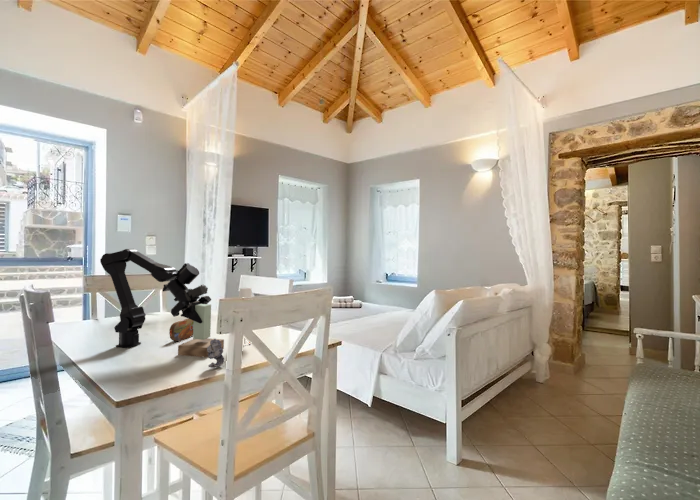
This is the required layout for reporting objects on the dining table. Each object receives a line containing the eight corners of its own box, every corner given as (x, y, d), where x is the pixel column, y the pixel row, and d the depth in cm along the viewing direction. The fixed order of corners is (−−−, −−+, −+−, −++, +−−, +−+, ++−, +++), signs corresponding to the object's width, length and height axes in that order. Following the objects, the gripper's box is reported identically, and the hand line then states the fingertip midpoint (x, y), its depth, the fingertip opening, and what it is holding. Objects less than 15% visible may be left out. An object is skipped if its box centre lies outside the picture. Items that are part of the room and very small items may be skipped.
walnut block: (177, 355, 131) (178, 345, 131) (197, 347, 143) (197, 337, 143) (206, 358, 129) (206, 347, 129) (223, 349, 141) (223, 339, 141)
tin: (174, 343, 146) (174, 323, 146) (167, 342, 147) (168, 323, 147) (196, 334, 161) (197, 316, 161) (190, 334, 161) (191, 316, 161)
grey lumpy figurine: (213, 371, 115) (214, 341, 115) (203, 367, 118) (204, 338, 118) (227, 366, 119) (227, 337, 119) (217, 363, 122) (217, 335, 122)
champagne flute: (246, 346, 143) (247, 289, 143) (232, 344, 146) (233, 288, 145) (255, 342, 150) (256, 287, 150) (242, 341, 152) (243, 286, 152)
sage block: (193, 338, 134) (194, 305, 134) (200, 336, 138) (200, 303, 138) (203, 339, 133) (204, 306, 133) (210, 336, 138) (211, 304, 137)
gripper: (178, 280, 127) (205, 312, 125) (207, 276, 145) (231, 304, 144) (159, 300, 128) (185, 332, 127) (190, 294, 147) (213, 321, 145)
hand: (205, 321), depth 135 cm, fingers closed on sage block, 4 cm apart
